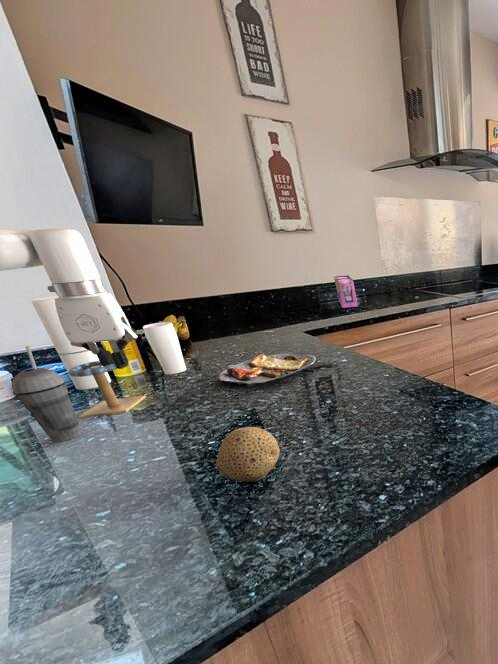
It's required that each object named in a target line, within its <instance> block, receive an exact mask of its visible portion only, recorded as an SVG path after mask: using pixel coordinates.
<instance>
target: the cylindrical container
mask: <svg viewBox="0 0 498 664" xmlns="http://www.w3.org/2000/svg"><path fill="white" fill-rule="evenodd" d="M56 298H59V296H58V295H52V296H51V295H49V296H42V297H36V298H32V299H30V302H31V304H32V306H33V308H34V310H35V311H36V313H37V315H38V318H40V321H41V323H42V325H43V327H44V329H45V331H46V333H47V335H48V337H49V338H50V341H51V343H52V345H53V347H54V348H55V350H56V352H57V354H58V356H59V358H60V360H61V362H62V364H63V367H64V368H65V370H66V372H67V375H68V376H69V377H70V380H71V382H72V383H73V386H74V387H75V389H76V390H82V391H83V390H84V391H85V390H90V389H95V388H99V387H98V385H97V383H96V381H95V379H94V377H93V375H91V376H83V377H74V376H70V375H69V370H70V369H71V368H74V367H76V366H78V365H82V364H85V363H89V362H94V361H99V359H98V357H97V355H95V354H93V353H92V352H91V351H89V350H87V349H85V348H83V347H76V346H72V345H71V344H70V341H69V340H68V339H67V337H66V335H65V333H64V330H63V328H62V326H61V323H60V320H59V317H58V314H57V310H56V306H55V299H56ZM102 367H103V366H102ZM87 370H88V369H87ZM105 375H106V377H107V379H108V381H109V383H110V384H111V382H112V379H111V377H110V375H109V373H108V372H105Z"/></svg>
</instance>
